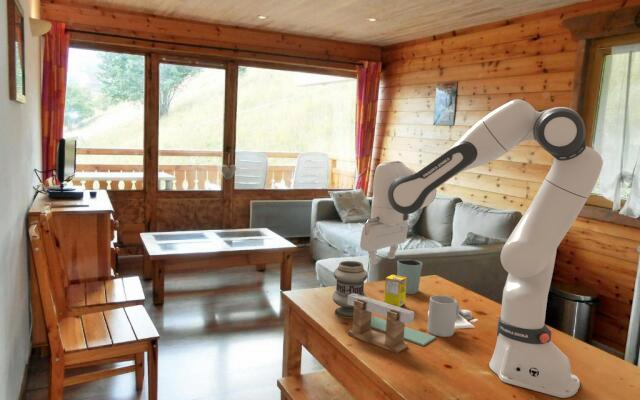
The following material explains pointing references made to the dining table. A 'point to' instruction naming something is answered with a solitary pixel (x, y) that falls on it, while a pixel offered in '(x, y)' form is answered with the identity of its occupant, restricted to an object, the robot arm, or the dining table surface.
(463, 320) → the cloth
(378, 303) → the rail
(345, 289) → the apothecary jar
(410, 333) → the mat
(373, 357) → the dining table surface
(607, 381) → the dining table surface
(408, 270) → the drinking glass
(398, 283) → the supplement box
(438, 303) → the mug
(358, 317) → the rack
